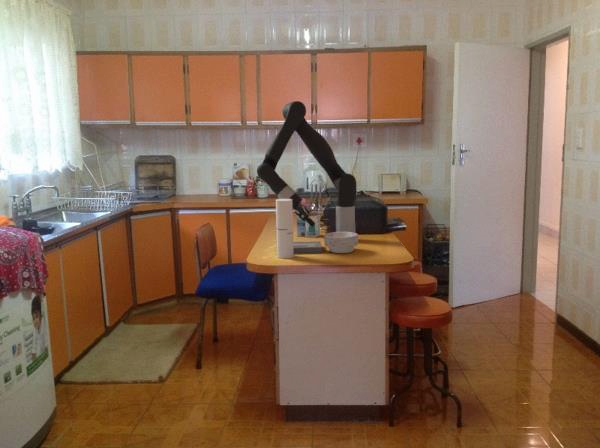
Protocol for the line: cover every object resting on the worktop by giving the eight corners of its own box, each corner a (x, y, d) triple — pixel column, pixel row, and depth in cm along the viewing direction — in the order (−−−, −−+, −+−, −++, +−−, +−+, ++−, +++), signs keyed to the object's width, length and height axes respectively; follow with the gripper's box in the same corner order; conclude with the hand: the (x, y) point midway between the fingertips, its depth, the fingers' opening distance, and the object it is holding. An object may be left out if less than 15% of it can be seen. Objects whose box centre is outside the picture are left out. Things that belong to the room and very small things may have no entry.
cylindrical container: (277, 254, 242) (275, 199, 238) (293, 254, 243) (291, 198, 238) (277, 258, 235) (276, 201, 231) (294, 258, 236) (292, 200, 231)
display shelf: (320, 246, 257) (320, 238, 257) (321, 252, 244) (321, 244, 244) (284, 247, 257) (284, 239, 257) (283, 253, 244) (283, 244, 244)
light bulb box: (296, 236, 283) (296, 216, 281) (301, 234, 289) (301, 214, 287) (315, 237, 279) (315, 216, 277) (320, 235, 285) (320, 214, 283)
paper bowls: (324, 248, 254) (324, 231, 253) (357, 247, 254) (356, 230, 253) (324, 255, 239) (324, 237, 238) (359, 255, 239) (359, 237, 238)
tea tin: (305, 233, 252) (305, 211, 250) (317, 233, 252) (317, 211, 250) (305, 235, 246) (305, 213, 244) (318, 235, 246) (318, 213, 244)
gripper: (291, 193, 241) (317, 221, 240) (299, 190, 254) (324, 216, 253) (279, 205, 243) (306, 232, 242) (288, 201, 256) (313, 227, 256)
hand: (315, 224), depth 248 cm, fingers closed on tea tin, 5 cm apart
